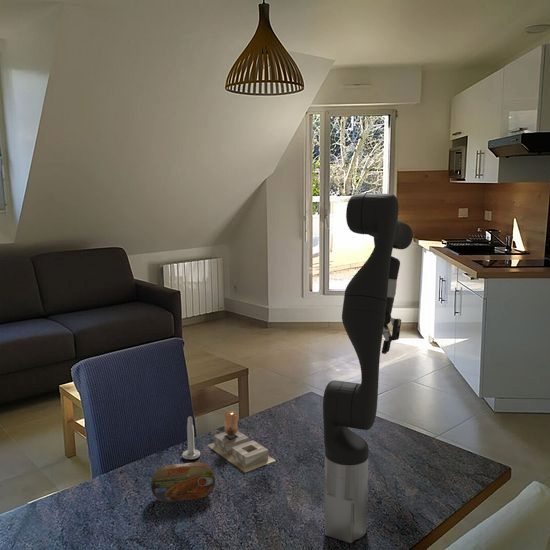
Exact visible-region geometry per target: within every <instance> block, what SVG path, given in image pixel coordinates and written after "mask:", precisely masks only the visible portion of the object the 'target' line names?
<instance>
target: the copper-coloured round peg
mask: <svg viewBox="0 0 550 550" xmlns="http://www.w3.org/2000/svg"><path fill="white" fill-rule="evenodd" d="M223 413H224V418H223V419H224V420H223V421H224V432H225V433H226V434H228V440H232V439H235V434H236V433H237V432H238V431H239V429H238V411H236V410H227V411H224V412H223Z"/></svg>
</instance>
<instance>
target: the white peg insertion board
mask: <svg viewBox="0 0 550 550" xmlns="http://www.w3.org/2000/svg"><path fill="white" fill-rule="evenodd" d="M206 446H207V447H208V448H210V449H211V450H212V451H215V452H216V453H217V454H218V455H220V456H222V457H223V458H224V459H225V460H226V461H228V462H229V463H231V464H232V465H234V466H235V467H236V468H238V469H240V471H242V472H243V473H248V472H250V471H253V470H256V469H259V468H261V467H264V466H265V465H268V464H271V463H273V462H275V461H277V460H276V459H274V458H273V457H271V456H270V455H269V449H267V448H266V447H264V446H263V445H262V444H260V443H258V442H257V441H255V440H254V439H252V440H250V439H249V436H247V435H245V434H243V433H242V432H241V431H239V430H238V432H237V433H236V434H235V439H232V440H228V434H226V433H225V431H224V432H220V433H218V434H215V435H213V443H210V444H207V445H206Z"/></svg>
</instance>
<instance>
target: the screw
mask: <svg viewBox="0 0 550 550" xmlns="http://www.w3.org/2000/svg"><path fill="white" fill-rule="evenodd" d="M193 422H194V421H193V416H188V417H187V425H186V434H187V435H186V436H187V437H186V438H187V449H186V450H185V451H183V452H182V454H181V456H182V458H183V459H185V460H189V461H190V460H195V459H198V458H199V457H200V456H201V452H200V450H199V449H195V431H194V429H195V427H194V424H193Z"/></svg>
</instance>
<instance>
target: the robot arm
mask: <svg viewBox="0 0 550 550" xmlns="http://www.w3.org/2000/svg"><path fill="white" fill-rule="evenodd" d="M345 211H346V213H345V220H346V225H347V227H348V229H349V230H350V231H351V232H352V233H354V234H358V235H368V236H370V237H372V238H373V244H374V245H373V246H374V248H373V249H372V252H371V254H370V255H369V256H368V258H367V260H366V261H365V262H364V264H362V266H361V267H360V268H359V269H358V270H357V272H356V273H355V274H354V275H353V277H352V278H351V279H350V281H349V282H348V284H347V286H346V287H345V290H344V295H343V304H342V309H341V310H342V311H341V321H342V325H343V327H344V330H345V332H346V334H347V336H348V339H349V341H350V342H351V344H352V346H353V349H354V352H355V354H356V356H357V360H358V362H359V366H360V374H361V375H360V377H361V378H360V379H361V383H358V382H357V383H356V382H352V381H351V382H349V381H344V380H342V381H341V380H336V379H335V380H331V381H329V382H328V383H327V384H326V386H325V388H324V389H325V390H324V392H323V398H322V418H323V443H324V444H323V445H324V504H323V505H324V509H323V510H324V514H323V515H324V519H323V521H324V525H323V526H324V536H326V537H330V538H332V539H336V540H339V541H342V542H345V543H349V544H352V543H353V542H354V541H356V540H359V539H361V538H362V537H364V536H365V535H366V534H367V529H368V527H367V526H368V490H369V489H368V488H369V487H368V484H369V483H368V479H369V478H368V477H369V445H368V442H367V441H366V439H365V438H363V436H361V435H359V434H357V433H355V432H353V430H351V429H355V430H361V431H362V430H363V431H369V430H370V429H372V428H373V425H374V423H375V421H376V416H377V410H378V398H379V376H380V361H381V355H382V354H383V355H385V354H387V353H388V352H389V351H390V348H391V343H392V341H394V342H395V341H398V340H399V339H400V332H401V326H402V319H401V318H395V317H394V318H393V317H392V311H393V307H394V302H395V297H396V291H397V285H398V284H397V282H398V276H399V271H400V268H401V261H400V259H398V258H396V257H394V256H392V254H393V249H396V250H406V249H408V248H409V247H410V245H411V244H412V242H413V238H414V233H413V230H412V227H411V226H410V225H409V224H408V223H405V222H402V221H399V220H398V219H399V199H398V198H397V196H396V195H395V194H392V193H366V192H365V193H364V192H363V193H356V194H353V195H352V196H351V197H350V198H349V200H348V201H347V204H346V210H345ZM390 323H391V326H392V332H391V330H390V327H389V326H388V324H390ZM383 338H384V340H383ZM382 341H383V344H382Z"/></svg>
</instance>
